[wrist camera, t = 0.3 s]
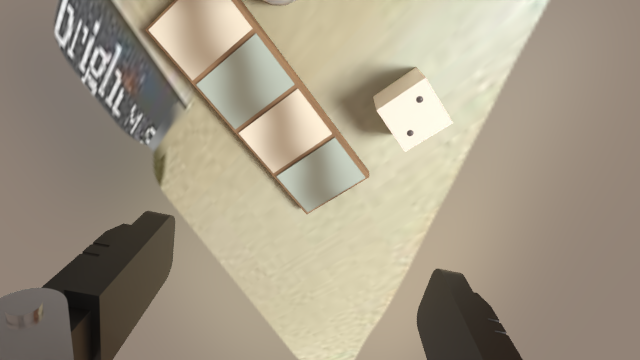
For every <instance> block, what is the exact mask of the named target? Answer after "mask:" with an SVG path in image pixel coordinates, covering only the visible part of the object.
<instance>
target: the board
mask: <svg viewBox="0 0 640 360" xmlns="http://www.w3.org/2000/svg"><path fill="white" fill-rule="evenodd" d="M145 31H146V32H147V33H148V34H149V35H150V36H151V38H152V39H153V40H154V41H155V42H156V43H157V44H158V45H159V47H160V48H161V49H162V50H163V51H164V52H165V53H166V55H167V56H168V57H169V58H170V59H171V60H172V61H173V63H174V64H175V65H176V66H177V67H178V68H179V69H180V71H181V72H182V73H183V74H184V75H185V76H186V77H187V79H188V80H189V81H190V82H191V83H192V84H193V85H194V87H195V88H196V89H197V90H198V91H199V92H200V93H201V95H202V96H203V97H204V98H205V99H206V100H207V101H208V103H209V104H210V105H211V106H212V107H213V108H214V109H215V110H216V112H217V113H218V114H219V115H220V116H221V117H222V118H223V120H224V121H225V122H226V123H227V124H228V125H229V126H230V128H231V129H232V130H233V131H234V132H235V133H236V134H237V136H238V137H239V138H240V139H241V140H242V141H243V142H244V144H245V145H246V146H247V147H248V148H249V149H250V150H251V152H252V153H253V154H254V155H255V156H256V157H257V158H258V160H259V161H260V162H261V163H262V164H263V165H264V166H265V168H266V169H267V170H268V171H269V172H270V173H271V174H272V175H273V177H274V178H275V179H276V180H277V181H278V182H279V183H280V185H281V186H282V187H283V188H284V189H285V190H286V191H287V193H288V194H289V195H290V196H291V197H292V198H293V199H294V201H295V202H296V203H297V204H298V205H299V206H300V207H301V209H302V210H303V211H304V212H305V213H306V214H308V213H310V212H312V211H313V210H315V209H317V208H318V207H320V206H322V205H323V204H325V203H327V202H328V201H330V200H332V199H333V198H335V197H337V196H338V195H340V194H342V193H343V192H345V191H347V190H348V189H350V188H352V187H353V186H355V185H357V184H358V183H360V182H362V181H363V180H365V179H367V178H368V177H369V171H368V169H367V168H366V167H365V165H364V164H363V163H362V161H361V160H360V159H359V157H358V156H357V155H356V153H355V152H354V151H353V149H352V148H351V147H350V145H349V144H348V143H347V141H346V140H345V139H344V137H343V136H342V135H341V133H340V132H339V131H338V129H337V128H336V127H335V125H334V124H333V123H332V121H331V120H330V118H329V117H328V116H327V114H326V113H325V112H324V110H323V109H322V108H321V106H320V105H319V104H318V102H317V101H316V100H315V98H314V97H313V96H312V94H311V93H310V92H309V90H308V89H307V88H306V86H305V85H304V84H303V82H302V81H301V80H300V78H299V77H298V76H297V74H296V73H295V72H294V70H293V69H292V68H291V66H290V65H289V64H288V62H287V61H286V60H285V58H284V57H283V56H282V54H281V53H280V52H279V50H278V49H277V48H276V46H275V45H274V43H273V42H272V41H271V39H270V38H269V37H268V35H267V34H266V33H265V31H264V30H263V29H262V27H261V26H260V25H259V23H258V22H257V21H256V19H255V18H254V17H253V15H252V14H251V13H250V11H249V10H248V9H247V7H246V6H245V5H244V3H243V2H242V1H241V0H174V1H173V2H172V3H171V4H170V5H169V6H168V7H167V8H166V9H165V10H164V11H163V12H162V13H161V14H160V15H159V16H158V17H157V18H156V19H155V20H154V21H153V22H152V23H151V24H150V25H149V26H148V27H147V28H146V29H145Z"/></svg>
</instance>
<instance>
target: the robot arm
mask: <svg viewBox="0 0 640 360" xmlns="http://www.w3.org/2000/svg"><path fill="white" fill-rule="evenodd" d="M174 232H175V218H174V216H171V215H166V214H161V213H156V212H151V211H146V212H145V213H143V215H141V216H140V218H138V219H137V220H136V221H135V222H134V223H133V224H132V225H128V224H122V225H120V226H117V227H115V228H113V229H110V230H108V231H106V232H105V233H103V235H101V236H100V237H99V238H98V239H97V240H95V241H94V242H93V245H90V246H89V247H87V248H86V249H85V250H84V251H83V253H82V254H79V255H78V256H77V257H76V258H75V259H74V260H73V261H71V263H69V264H68V265H67V266H66V267H65V268H63V269H62V270H61V271H60V272H59V273H58V274H57V275H55V276H54V277H53V278H52V279H51V280H50V281H48V282H47V283H46V284H45V285H44V286H43V287H42V288H31V289H25V290H21V291H17V292H14V293H10V294H8V295H6V296H3V297H1V298H0V360H113V358H114V357H115V355H116V354H117V352H118V351H119V349H120V348H121V346H122V345H123V343H124V342H125V340H126V339H127V337H128V336H129V334H130V333H131V331H132V329H133V328H134V327H135V325H136V324H137V323H138V321H139V319H140V318H141V316H142V315H143V313H144V312H145V311H146V309H147V308H148V306H149V305H150V303H151V301H152V300H153V299H154V297H155V296H156V294H157V293H158V291H159V290H160V288H161V287H162V285H163V284H164V282H165V281H166V279H167V277H168V275H169V272H170V269H171V266H172V261H173V247H174ZM417 327H418V331H419V334H420V338H421V341H422V344H423V348H424V351H425V354H426V358H427V360H522V358H521V356H520V354H519V353H518V351H517V349H516V348H515V346H514V344H513V343H512V341H511V339H510V338H509V336H508V335H506V331H505V329H504V328H503V326H502V324H501V323H499V319H498V317H497V316H496V314H495V312H494V311H493V309H492V307H491V306H490V305H489V304H488V303H487V302H486V301H485V300H484V299H483V298H481V296H480V295H479V294H478V293H474V292H473V291H472V289H471V287H470V286H469V284H468V282H467V280H466V279H465V277H464V275H463V274H461V273H458V272H452V271H447V270H442V269H436V270H434V272H433V274H432V276H431V278H430V280H429V283H428V286H427V288H426V290H425V293H424V295H423V298H422V300H421V303H420V306H419V309H418V313H417Z"/></svg>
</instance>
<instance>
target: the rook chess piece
mask: <svg viewBox="0 0 640 360" xmlns="http://www.w3.org/2000/svg"><path fill="white" fill-rule="evenodd" d="M263 1H265V2H267V3H270V4H272V5H288V4H290V3H292V2H294V1H296V0H263Z"/></svg>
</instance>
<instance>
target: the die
mask: <svg viewBox="0 0 640 360" xmlns="http://www.w3.org/2000/svg"><path fill="white" fill-rule="evenodd" d="M373 99H374V103H375V107H376V111H377V112H378V114H379V115H380V116H381V118H382V119H383V121H384V122H385V124H386V125H387V127H388V128H389V130H390V131H391V133H392V134H393V136H394V137H395V138H396V140H397V141H398V143H399V144H400V146H401V147H402V149H403V150H404V152H406V151H408V150H409V149H411V148H413V147H414V146H416V145H418V144H419V143H421V142H422V141H424V140H426V139H427V138H429V137H431V136H432V135H434V134H436V133H437V132H439V131H441V130H442V129H444V128H446V127H447V126H449V125H451V124H452V123H453V122H452V120H451V118H450V117H449V115H448V113H447V112H446V110H445V108H444V107H443V105H442V103H441V102H440V100H439V98H438V97H437V95H436V93H435V92H434V90H433V88H432V87H431V85H430V83H429V82H428V80H427V78H426V77H425V76H424V75H423V74H422V73H421V72H420V71H419V69H418V68H417V67H415V68H414V69H412V70H411V71H410V72H408V73H407V74H405V75H404V76H402V77H401V78H399V79H398V80H396V81H395V82H393V83H392V84H391V85H389V86H388V87H386V88H385V89H383V90H382V91H380V92H379V93H377V94H376V95H374V96H373Z"/></svg>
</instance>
